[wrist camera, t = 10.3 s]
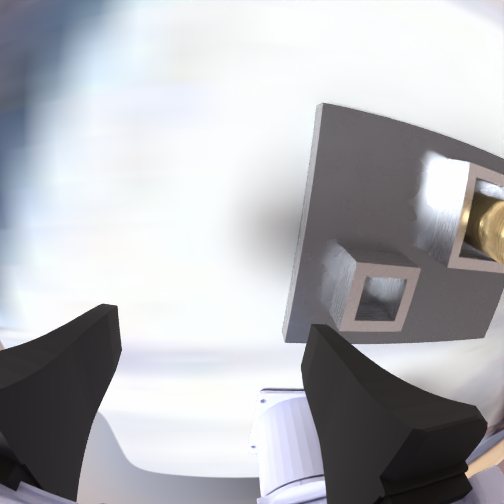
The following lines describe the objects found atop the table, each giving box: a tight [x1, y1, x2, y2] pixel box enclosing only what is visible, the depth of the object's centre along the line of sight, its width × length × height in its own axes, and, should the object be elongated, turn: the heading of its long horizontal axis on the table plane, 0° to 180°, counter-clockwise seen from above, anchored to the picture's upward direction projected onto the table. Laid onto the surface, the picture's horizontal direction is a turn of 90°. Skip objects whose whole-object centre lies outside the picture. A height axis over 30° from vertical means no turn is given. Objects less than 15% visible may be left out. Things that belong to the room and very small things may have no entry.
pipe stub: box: [463, 191, 504, 265], centre depth 17 cm, size 4×4×6 cm
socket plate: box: [282, 103, 504, 344], centre depth 20 cm, size 16×20×4 cm
